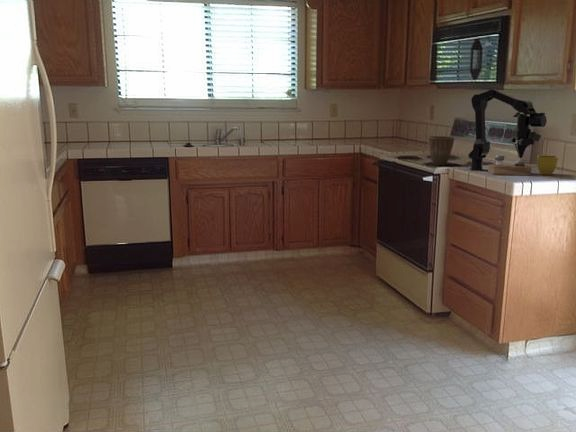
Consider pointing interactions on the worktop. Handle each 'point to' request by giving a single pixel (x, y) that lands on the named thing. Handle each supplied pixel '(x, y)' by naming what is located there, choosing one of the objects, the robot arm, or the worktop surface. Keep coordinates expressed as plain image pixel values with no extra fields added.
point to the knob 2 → (520, 163)
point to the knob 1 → (499, 160)
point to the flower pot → (547, 164)
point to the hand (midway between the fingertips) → (520, 158)
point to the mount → (509, 170)
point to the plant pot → (440, 149)
